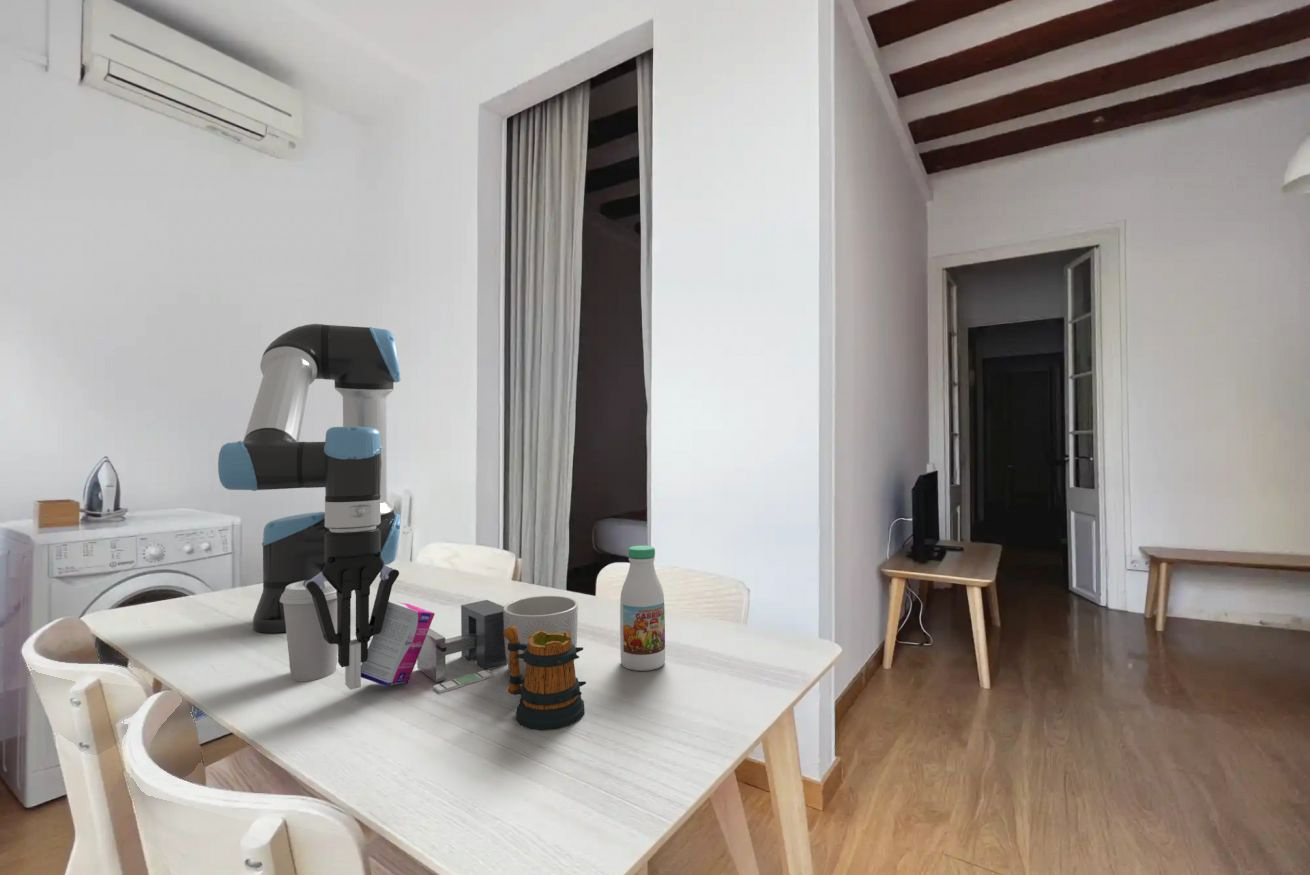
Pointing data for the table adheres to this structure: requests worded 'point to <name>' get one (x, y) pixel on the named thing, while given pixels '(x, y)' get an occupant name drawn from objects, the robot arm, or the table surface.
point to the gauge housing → (484, 633)
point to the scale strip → (463, 681)
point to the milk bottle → (642, 613)
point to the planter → (540, 619)
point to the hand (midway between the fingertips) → (353, 685)
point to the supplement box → (397, 644)
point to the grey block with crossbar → (441, 652)
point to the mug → (545, 680)
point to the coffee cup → (308, 633)
